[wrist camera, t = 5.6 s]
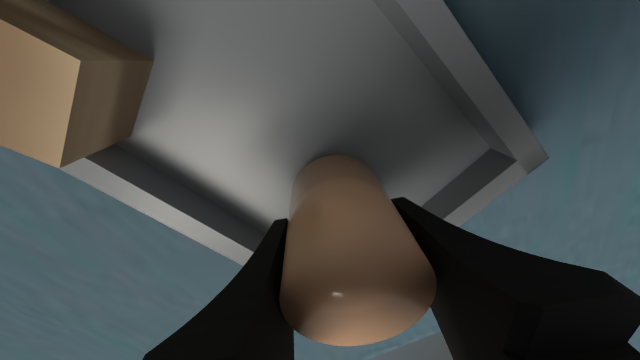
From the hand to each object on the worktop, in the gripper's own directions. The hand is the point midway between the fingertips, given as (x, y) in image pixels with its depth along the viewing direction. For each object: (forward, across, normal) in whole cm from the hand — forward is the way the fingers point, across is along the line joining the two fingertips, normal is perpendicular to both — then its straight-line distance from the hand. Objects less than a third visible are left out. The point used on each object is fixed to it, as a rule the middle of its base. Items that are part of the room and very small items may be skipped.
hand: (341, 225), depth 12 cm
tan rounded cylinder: (+2, 0, 0) cm, 2 cm away
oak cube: (+3, +10, -8) cm, 13 cm away
